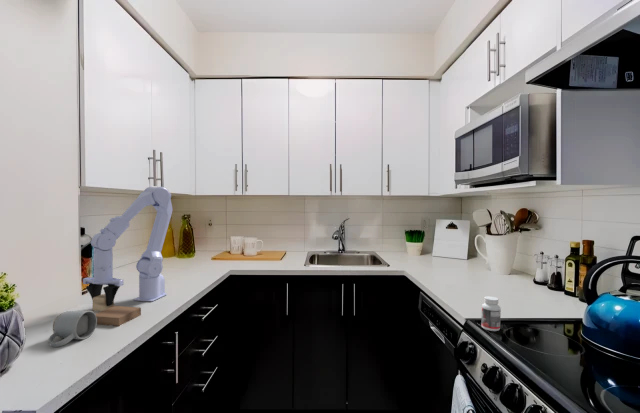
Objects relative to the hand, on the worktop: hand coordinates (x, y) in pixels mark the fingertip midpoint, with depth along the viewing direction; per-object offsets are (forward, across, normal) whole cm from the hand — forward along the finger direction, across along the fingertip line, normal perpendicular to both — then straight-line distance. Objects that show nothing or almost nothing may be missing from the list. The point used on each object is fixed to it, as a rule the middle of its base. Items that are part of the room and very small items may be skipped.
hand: (103, 304), depth 119 cm
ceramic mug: (+2, +11, -24) cm, 26 cm away
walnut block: (+2, +12, -8) cm, 15 cm away
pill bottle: (+2, +132, +8) cm, 133 cm away
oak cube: (+1, 0, 0) cm, 1 cm away
